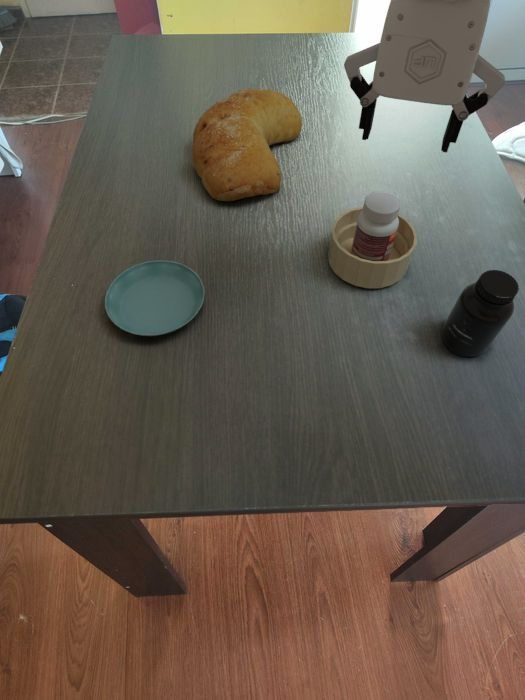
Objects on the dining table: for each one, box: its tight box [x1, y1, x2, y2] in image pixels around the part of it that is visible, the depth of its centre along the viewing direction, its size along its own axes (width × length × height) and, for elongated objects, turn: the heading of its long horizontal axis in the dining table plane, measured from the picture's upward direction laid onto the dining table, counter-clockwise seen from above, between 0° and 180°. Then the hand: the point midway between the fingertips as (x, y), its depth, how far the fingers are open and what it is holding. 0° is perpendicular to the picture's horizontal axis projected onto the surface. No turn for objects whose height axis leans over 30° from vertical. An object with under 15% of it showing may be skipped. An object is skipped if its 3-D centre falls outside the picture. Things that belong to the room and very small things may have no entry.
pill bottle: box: [351, 190, 401, 261], centre depth 71 cm, size 6×6×11 cm
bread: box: [191, 88, 303, 202], centre depth 89 cm, size 32×20×10 cm, turn 165°
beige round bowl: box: [327, 205, 418, 289], centre depth 74 cm, size 13×13×6 cm
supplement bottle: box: [440, 269, 520, 358], centre depth 63 cm, size 7×7×12 cm
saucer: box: [104, 259, 206, 337], centre depth 70 cm, size 15×15×3 cm
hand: (405, 140), depth 58 cm, fingers open, 9 cm apart
